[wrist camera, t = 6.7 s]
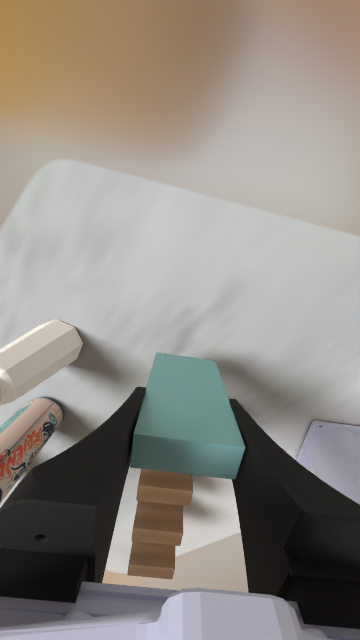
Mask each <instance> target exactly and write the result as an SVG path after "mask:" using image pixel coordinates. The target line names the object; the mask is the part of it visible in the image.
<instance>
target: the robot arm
mask: <svg viewBox="0 0 360 640" xmlns="http://www.w3.org/2000/svg"><path fill="white" fill-rule="evenodd" d="M145 394H146V388H144V387H137V388H136V389H135V390H134V391H133V393H132V394H131V395H130V397H129V398H128V399H127V400H126V401H125V402H124V403H123V405H122V406H121V407H120V408H119V409H118V410H117V411H116V412H115V413H114V414H113V415H112V416H111V417H110V418H109V419H107V420H106V421H105V422H104V423H103V424H102V425H101V426H99V427H98V428H97V429H96V430H94V431H93V432H92V433H90V434H89V435H88V436H86V437H85V438H84V439H82V440H81V441H79V442H78V443H76V444H75V445H73V446H72V447H70V448H68V449H67V450H65V451H64V452H62V453H60V454H59V455H57V456H55V457H53V458H51V459H49V460H47V461H45V462H44V463H42V464H40V465H38V466H36V467H34V468H32V469H31V470H30V471H29V473H28V474H27V475H26V476H25V477H24V478H23V479H22V481H21V482H20V483H19V484H18V485H17V487H16V488H15V489H14V491H13V492H12V493H11V495H10V496H9V497H8V499H7V500H6V501H5V503H4V504H3V506H2V507H1V508H0V640H360V426H354V425H346V424H338V423H331V422H323V421H313V422H312V424H311V426H310V428H309V431H308V433H307V435H306V438H305V440H304V443H303V445H302V447H301V450H300V452H299V454H298V457H297V459H296V460H295V459H293V458H292V457H291V456H290V455H289V454H287V453H286V452H285V451H284V450H283V449H282V448H281V447H280V446H278V445H277V444H276V443H275V442H274V441H273V440H272V439H271V438H270V437H269V436H268V435H267V434H266V433H265V432H264V431H263V430H262V429H261V428H260V427H259V425H258V424H257V423H256V422H255V421H254V420H253V419H252V418H251V417H250V415H249V414H248V413H247V412H246V411H245V410H244V408H243V407H242V406H241V405H240V404H239V403H238V401H237V400H236V399H229V402H230V406H231V409H232V411H233V413H234V416H235V419H236V422H237V425H238V428H239V431H240V433H241V436H242V439H243V442H244V445H245V450H244V453H243V456H242V460H241V463H240V466H239V469H238V472H237V475H236V479H232V482H233V487H234V491H235V497H236V503H237V509H238V515H239V522H240V529H241V535H242V542H243V550H244V557H245V564H246V573H247V581H248V589H249V593H245V592H235V591H225V590H213V589H203V588H190V589H182V590H180V591H178V590H168V589H157V588H147V587H136V586H125V585H115V584H104V583H102V580H103V575H104V571H105V567H106V562H107V558H108V553H109V549H110V545H111V540H112V536H113V531H114V527H115V522H116V518H117V514H118V510H119V505H120V501H121V497H122V493H123V488H124V484H125V480H126V476H127V473H128V469H129V466H130V463H131V455H132V445H133V435H134V431H135V427H136V424H137V420H138V417H139V413H140V409H141V406H142V402H143V399H144V397H145ZM309 470H311V471H315V473H316V475H317V476H318V477H317V476H315V475H314V474H313V473H311V472H310V471H309Z"/></svg>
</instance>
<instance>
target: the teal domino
mask: <svg viewBox="0 0 360 640" xmlns="http://www.w3.org/2000/svg"><path fill="white" fill-rule="evenodd" d="M244 450H245V445H244V442H243V439H242V436H241V433H240V431H239V428H238V425H237V422H236V419H235V416H234V413H233V411H232V409H231V406H230V402H229V399H228V396H227V393H226V390H225V387H224V384H223V382H222V379H221V376H220V373H219V370H218V367H217V364H216V361H213V360H206V359H199V358H192V357H184V356H177V355H170V354H162V353H156V356H155V360H154V363H153V367H152V370H151V374H150V377H149V381H148V384H147V388H146V394H145V397H144V399H143V402H142V406H141V409H140V413H139V417H138V420H137V424H136V427H135V431H134V435H133V445H132V455H131V465H130V467H132V468H141V469H149V470H158V471H166V472H175V473H183V474H192V475H201V476H209V477H218V478H226V479H236V475H237V472H238V469H239V466H240V463H241V460H242V456H243V453H244Z"/></svg>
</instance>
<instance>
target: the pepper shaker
mask: <svg viewBox="0 0 360 640" xmlns="http://www.w3.org/2000/svg"><path fill="white" fill-rule="evenodd" d="M82 345H83V342H82V340H81V338H80V336H79V334H78V333H77V331H76V329H75V327H73V326H71V325H69V324H66V323H64V322H62V321H59V320H57V319H56V320H53V321H50V322H47V323H45V324H42V325H39V326H38V327H36V328H34V329H33V330H31V331H30V332H28V333H26V334H25V335H23V336H21V337H20V338H18V339H16V340H15V341H13V342H11V343H10V344H8V345H6V346H5V347H3V348H1V349H0V405H3V404H6V403H9V402H12V401H14V400H16V399H17V398H19V397H21V396H22V395H24V394H25V393H27V392H28V391H30V390H31V389H33V388H34V387H36V386H37V385H39V384H40V383H42V382H43V381H45V380H46V379H48V378H49V377H50V376H52V375H53V374H55V373H56V372H58V371H59V370H61V369H62V368H64V367H65V366H67V365H68V364H70V363H71V362H73V361H74V360H76V359H77V358H78V356H79V353H80V351H81V348H82Z"/></svg>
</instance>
